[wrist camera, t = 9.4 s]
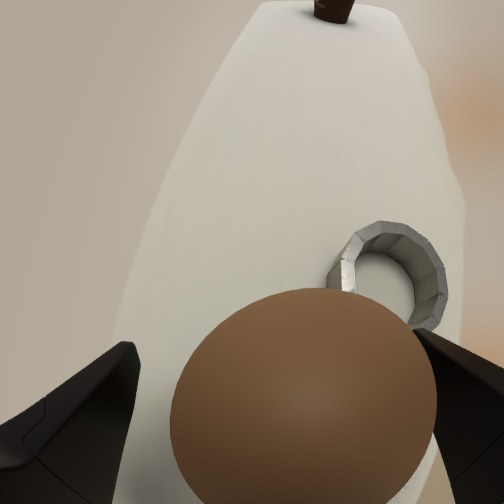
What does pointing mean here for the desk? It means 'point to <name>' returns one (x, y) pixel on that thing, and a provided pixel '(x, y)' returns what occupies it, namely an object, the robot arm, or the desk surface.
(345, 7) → the coffee mug
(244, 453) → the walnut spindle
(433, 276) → the stand collar
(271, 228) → the desk surface
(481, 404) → the robot arm
